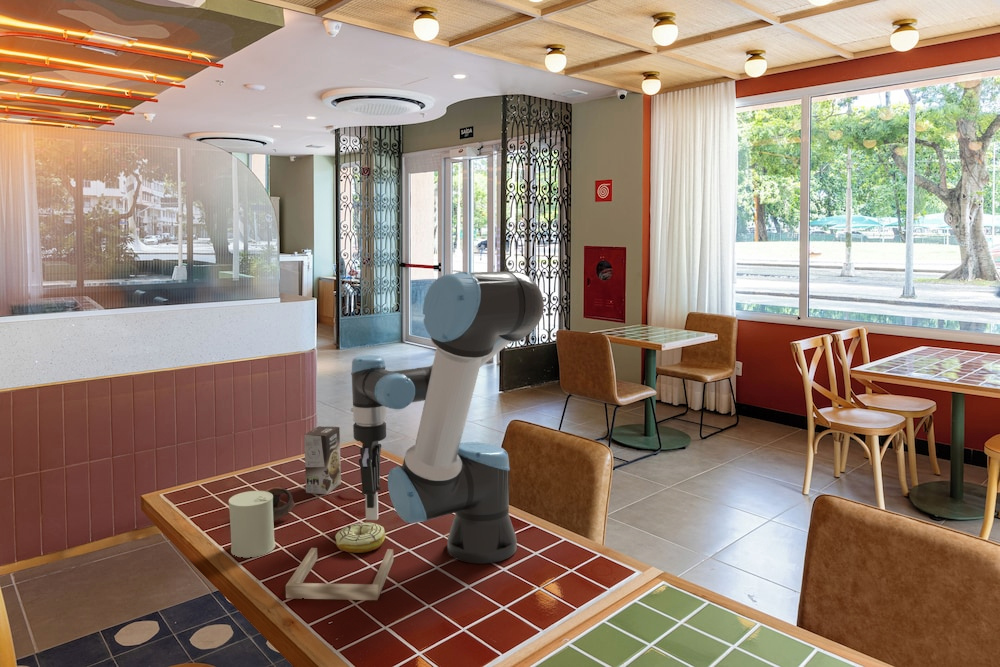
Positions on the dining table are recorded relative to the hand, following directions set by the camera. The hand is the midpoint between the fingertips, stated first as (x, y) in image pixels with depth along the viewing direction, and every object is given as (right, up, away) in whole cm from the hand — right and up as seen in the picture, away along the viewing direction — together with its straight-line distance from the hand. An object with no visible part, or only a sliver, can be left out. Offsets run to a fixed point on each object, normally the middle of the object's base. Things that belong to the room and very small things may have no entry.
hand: (372, 518), depth 167 cm
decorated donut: (0, -3, -11) cm, 12 cm away
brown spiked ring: (-25, -1, +4) cm, 26 cm away
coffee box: (-17, +2, +23) cm, 29 cm away
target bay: (-1, -5, -26) cm, 26 cm away
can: (-24, -3, -13) cm, 27 cm away
